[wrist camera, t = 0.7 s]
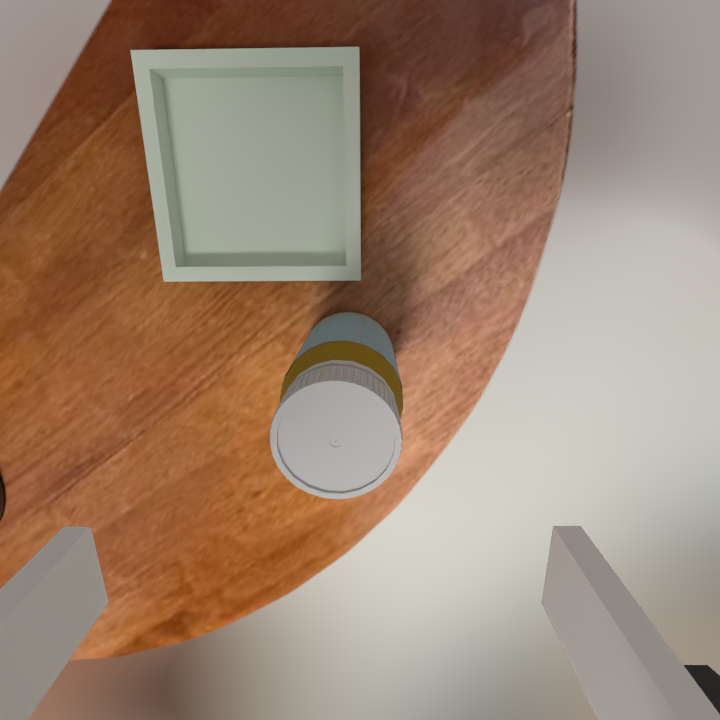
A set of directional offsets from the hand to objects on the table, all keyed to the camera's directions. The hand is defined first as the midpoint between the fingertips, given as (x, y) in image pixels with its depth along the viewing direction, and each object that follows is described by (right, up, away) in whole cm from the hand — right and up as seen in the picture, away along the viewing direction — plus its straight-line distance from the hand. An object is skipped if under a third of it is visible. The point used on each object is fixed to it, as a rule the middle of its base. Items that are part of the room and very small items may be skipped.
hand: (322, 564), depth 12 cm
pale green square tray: (-6, +19, +18) cm, 27 cm away
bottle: (0, +7, +22) cm, 23 cm away
